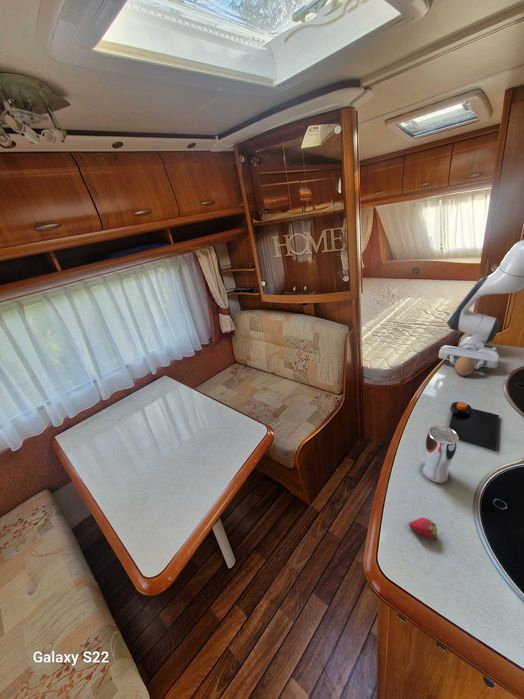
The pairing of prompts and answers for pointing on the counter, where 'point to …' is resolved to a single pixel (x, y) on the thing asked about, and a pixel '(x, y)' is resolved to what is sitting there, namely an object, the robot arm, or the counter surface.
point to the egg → (464, 366)
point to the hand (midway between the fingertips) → (464, 365)
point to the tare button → (461, 406)
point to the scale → (475, 426)
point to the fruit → (424, 528)
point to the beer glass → (439, 452)
